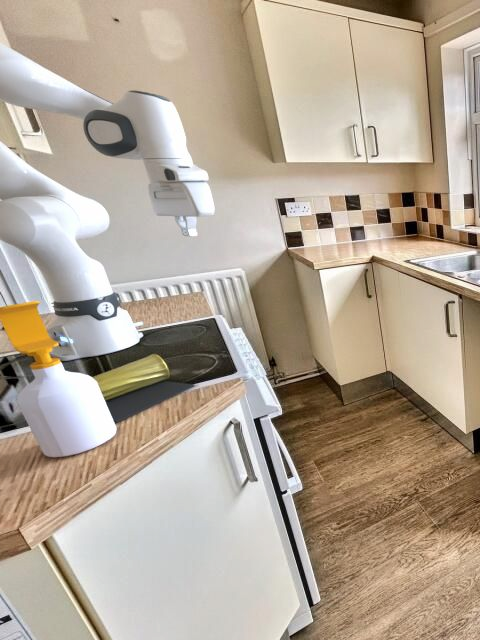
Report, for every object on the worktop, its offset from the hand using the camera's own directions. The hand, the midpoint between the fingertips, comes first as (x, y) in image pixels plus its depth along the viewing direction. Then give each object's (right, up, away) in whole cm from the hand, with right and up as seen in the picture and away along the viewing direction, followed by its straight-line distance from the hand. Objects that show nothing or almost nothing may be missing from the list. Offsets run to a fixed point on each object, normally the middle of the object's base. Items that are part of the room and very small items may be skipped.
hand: (190, 236), depth 100 cm
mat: (-3, -37, -14) cm, 39 cm away
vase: (-1, -31, -8) cm, 32 cm away
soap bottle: (+4, -42, -29) cm, 51 cm away
